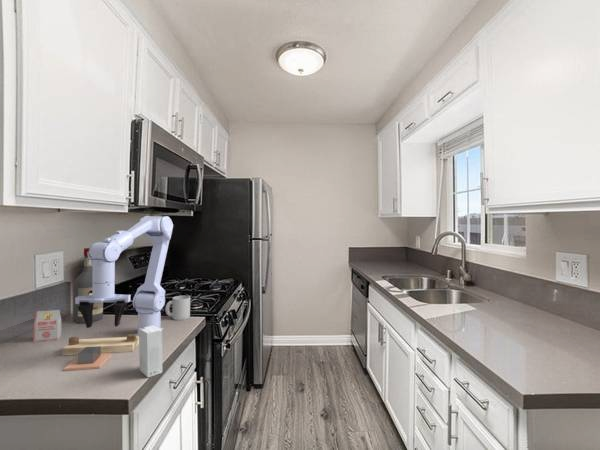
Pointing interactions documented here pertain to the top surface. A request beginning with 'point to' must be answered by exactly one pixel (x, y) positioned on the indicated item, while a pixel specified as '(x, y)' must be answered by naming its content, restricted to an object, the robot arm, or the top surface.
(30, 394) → the top surface
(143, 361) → the skincare box
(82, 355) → the gray rectangular block
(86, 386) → the top surface
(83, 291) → the liquor
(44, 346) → the top surface
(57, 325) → the white red printed carton
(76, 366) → the terracotta tile
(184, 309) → the cup
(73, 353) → the hand plane
